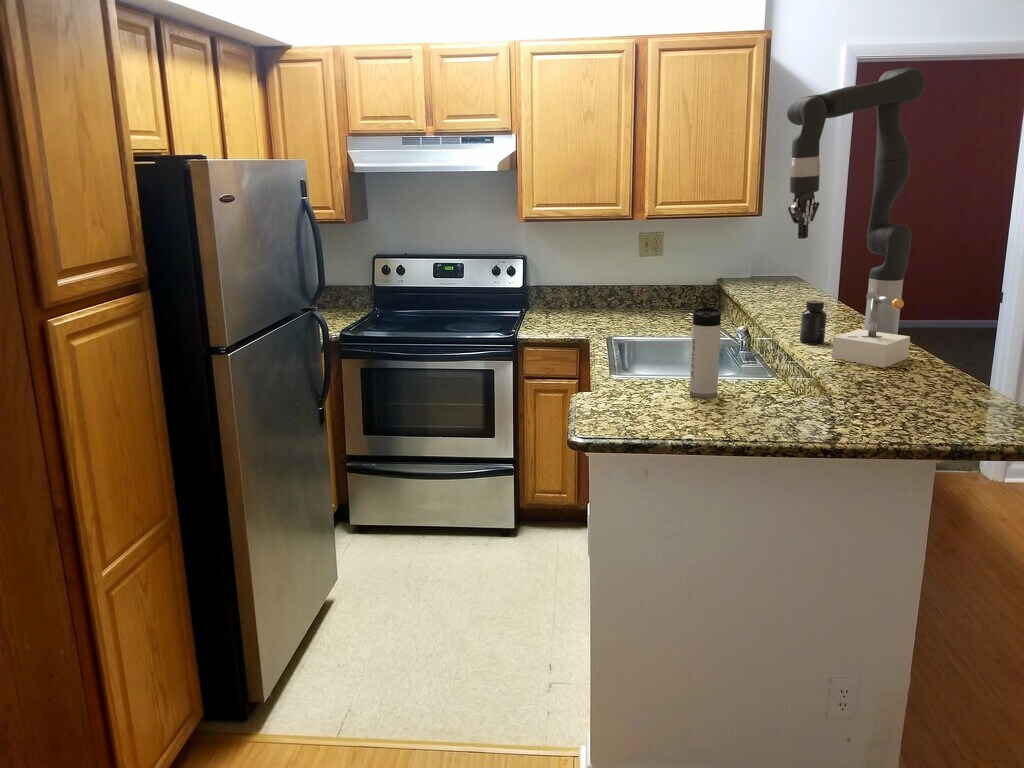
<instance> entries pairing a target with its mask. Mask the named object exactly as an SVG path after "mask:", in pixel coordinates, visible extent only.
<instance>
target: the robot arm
mask: <svg viewBox="0 0 1024 768" xmlns="http://www.w3.org/2000/svg"><path fill="white" fill-rule="evenodd" d="M925 88H926V78H925V76H924V73H923V72H922V71H921V70H919V69H918V68H912V67H904V68H898V69H892V70H887V71H885V72H884V73H882V74H881V76H880V77H879V79H878V81H873V82H869V83H864V84H863V83H862V84H861V83H860V84H856V85H851V86H845V87H840V88H838V89H833V90H831V91H827V92H823V93H820V94H814V95H808V96H803V97H799V98H796V99H794V100H793V101H792V102H790V104H789V106H788V107H787V110H786V117H787V120H788V121H789V122H790V123H792V124H793V125H794V126H795V125H796V126H801V130H800V133H799V134H798V135H796V136H794V137H793V138H792V142H791V162H790V169H789V170H790V174H789V175H790V176H789V178H790V179H789V180H790V181H789V192H790V193H791V194H793V200H792V201H793V204H792V205H791V206H790V205H789V206H788V207H787V210H788V213H789V215H790V218H791V220H792V222H793V224H796V225H797V226H798V227H797V228H798V229H797V239H801V240H803V239H807V238H808V237H809V225H810V224H811V222H813V221H814V219H815V217H816V214H817V211H818V209H819V207H820V202H819V201H816V200H815V198H816V196H815V193H817V192H818V191H819V189H820V171H821V170H820V169H821V167H820V165H821V163H820V140H821V137H822V135H823V131H824V130H823V129H824V127H825V123H826V120H827V119H833V118H838V117H842V116H846V115H850V114H853V113H856V112H859V111H863V110H866V109H870V108H874V107H876V125H877V126H876V145H875V157H874V169H873V170H874V171H873V192H872V201H871V208H870V215H869V220H868V226H867V231H866V232H867V233H866V246H867V249H868V251H869V252H870V253H872V254H874V255H882V256H885V260H884V262H883V263H882V264H881V265H878V266H875V267H871V269H870V270H869V276H868V277H869V278H868V288H867V293H869V292H872V293H876V294H879V295H883V296H886V297H890V298H893V299H897V298H899V299H902V296H903V285H904V278H905V273H906V270H907V268H908V265H909V258H910V252H911V246H912V232H911V228H910V227H909V226H908V225H906V224H904V223H903V224H901V223H891V222H890V219H891V218H890V217H891V210H892V208H893V205H894V202H895V200H896V199H897V197H898V195H899V194H900V193H901V191H902V190H903V188H904V187H905V185H906V183H907V181H908V179H909V177H910V172H911V169H910V168H911V158H912V154H911V153H912V152H911V148H910V145H909V143H908V139H907V137H906V136H905V135H906V134H905V133H904V131H903V127H902V125H901V105H904V104H911V103H913V102H914V101H916V100H917V99H918V98H920V97H921V96H922V95H923V93H924V90H925ZM870 310H871V300H869V299H867V298H866V308H865V315H864V316H865V318H864V327H863V330H867V331H868V330H869V320H870ZM900 313H901V309H899V310H896V309H894V308H893V307H892V306H888V305H885V304H882V303H879V313H878V323H877V332H881V333H889V334H896V335H898V331H899V321H900Z"/></svg>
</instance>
